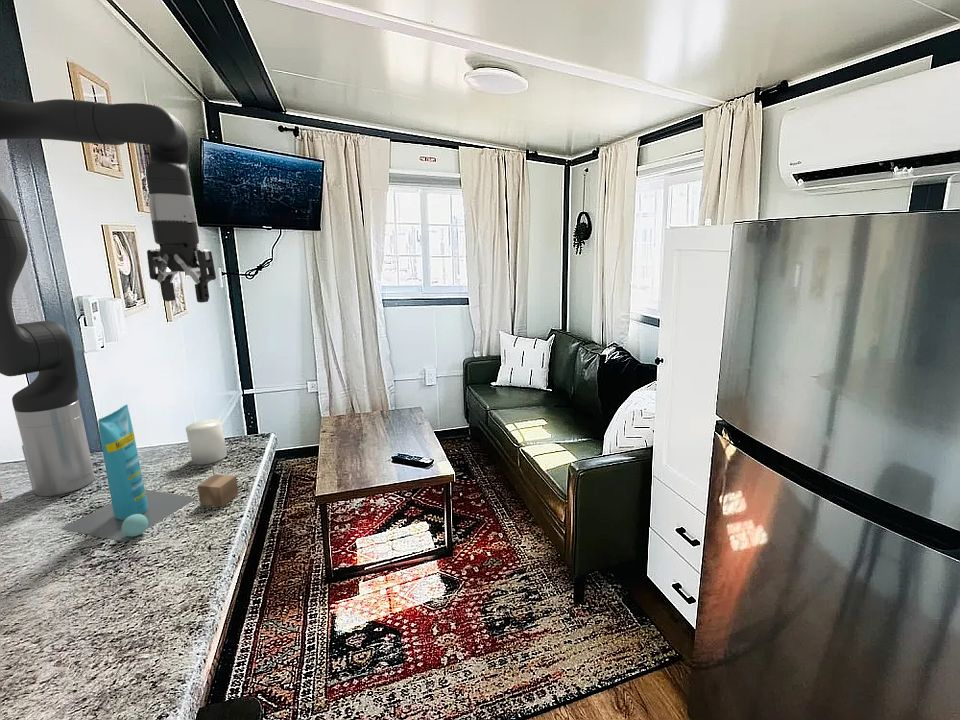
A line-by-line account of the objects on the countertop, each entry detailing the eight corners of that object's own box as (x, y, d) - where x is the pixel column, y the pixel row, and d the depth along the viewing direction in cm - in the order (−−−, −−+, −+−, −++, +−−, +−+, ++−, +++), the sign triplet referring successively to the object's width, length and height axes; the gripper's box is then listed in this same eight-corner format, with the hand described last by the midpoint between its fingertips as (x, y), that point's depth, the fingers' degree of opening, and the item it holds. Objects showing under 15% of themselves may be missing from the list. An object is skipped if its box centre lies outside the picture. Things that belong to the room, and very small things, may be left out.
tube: (137, 522, 80) (116, 417, 75) (105, 526, 79) (82, 419, 74) (156, 500, 87) (139, 403, 82) (127, 503, 86) (108, 405, 81)
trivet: (61, 531, 78) (61, 528, 78) (140, 491, 91) (140, 488, 91) (125, 545, 75) (125, 541, 74) (198, 500, 88) (197, 498, 88)
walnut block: (197, 485, 85) (219, 487, 84) (214, 474, 89) (236, 475, 88) (200, 507, 86) (222, 509, 85) (217, 495, 90) (238, 497, 89)
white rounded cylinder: (186, 465, 102) (179, 432, 100) (201, 451, 109) (195, 420, 107) (218, 463, 103) (212, 429, 101) (232, 449, 110) (226, 418, 108)
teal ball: (118, 539, 75) (114, 520, 74) (138, 527, 78) (135, 508, 78) (135, 542, 74) (131, 523, 73) (155, 530, 77) (151, 511, 77)
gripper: (128, 219, 90) (142, 302, 94) (186, 217, 86) (199, 304, 90) (162, 221, 97) (174, 299, 101) (218, 220, 93) (228, 300, 97)
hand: (186, 301), depth 95 cm, fingers open, 8 cm apart
